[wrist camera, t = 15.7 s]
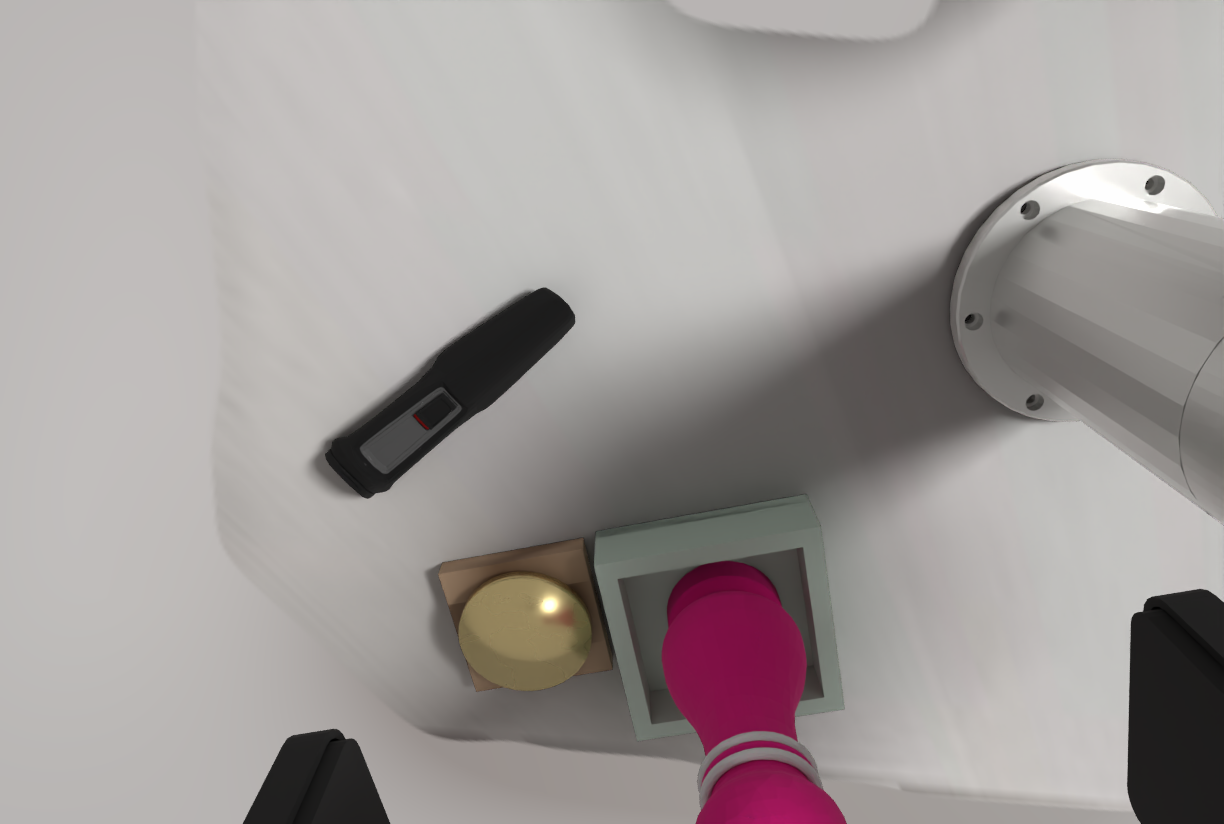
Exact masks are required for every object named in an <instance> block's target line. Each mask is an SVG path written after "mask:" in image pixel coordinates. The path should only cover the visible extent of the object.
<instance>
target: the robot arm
mask: <svg viewBox="0 0 1224 824" xmlns="http://www.w3.org/2000/svg"><path fill="white" fill-rule="evenodd" d="M1147 181H1148V184H1147V186H1146V187H1145V184H1146V182H1147ZM1024 203H1026V209H1025V211H1024V212H1022V213H1020V210H1021V207H1022V206H1023V204H1024ZM969 314H971V318H970V320H968V321H966V322H965V318H966V317H967V316H968V315H969ZM950 326H951V330H952V335H953V339H954V344H955V348H956V350H957V352H958V355H959V357H960V359H961V361H962V363H963V365H964V367H965V369H966V370H967V371H968V373H969V374H970V375H971V377H972V378H973V379H974V380H975V382H976V383H977V384H978V385H979V386H980V387H981V388H982V389H983V390H985V391H986V392H987V393H988V394H989V395H990V396H991V397H992V398H994V399H995V400H997V401H998V402H1000V403H1002V404H1003V405H1005V406H1006V407H1008V408H1009V409H1011V410H1013V411H1016V412H1018V413H1020V414H1023V415H1025V416H1028V417H1031V418H1037V419H1043V420H1048V421H1054V422H1064V421H1081V422H1083V423H1084V424H1086V425H1087V426H1088V427H1090V428H1091V429H1092V430H1094V431H1095V432H1096V433H1098V434H1099V435H1101V436H1102V437H1103V438H1105V439H1106V440H1107V441H1109V442H1110V443H1112V444H1113V445H1114V446H1116V447H1117V448H1118V449H1120V450H1121V451H1123V452H1124V453H1125V454H1127V455H1128V456H1129V457H1131V458H1132V459H1133V460H1135V461H1136V462H1138V463H1139V464H1140V465H1142V466H1143V467H1144V468H1146V469H1147V470H1149V471H1150V472H1151V473H1153V474H1154V475H1155V476H1157V477H1158V478H1160V479H1161V480H1162V481H1164V482H1165V483H1166V484H1168V485H1169V486H1170V487H1172V488H1173V489H1175V490H1176V491H1177V492H1179V493H1180V494H1181V495H1183V496H1184V497H1186V498H1187V499H1188V500H1190V501H1191V502H1192V503H1194V504H1195V505H1197V506H1198V507H1199V508H1201V509H1202V510H1203V511H1205V512H1206V513H1208V514H1209V515H1210V516H1212V517H1213V518H1214V519H1216V520H1217V521H1218V522H1220V523H1221V524H1222V525H1224V218H1222V217H1218V215H1217V214H1216V212H1215V211H1214V209H1213V207H1212V206H1211V204H1210V202H1209V201H1208V199H1207V198H1206V197H1205V196H1204V195H1203V194H1202V193H1201V192H1200V191H1199V190H1198V189H1197V188H1196V187H1195V186H1194V185H1192V184H1191V183H1190V182H1189V181H1187V180H1185V179H1184V178H1182V177H1180V176H1179V175H1177V174H1175V173H1174V172H1172V171H1170V170H1168V169H1165V168H1161V167H1158V166H1155V165H1152V164H1149V163H1145V162H1139V161H1132V160H1125V159H1095V160H1090V161H1085V162H1080V163H1075V164H1070V165H1067V166H1064V167H1062V168H1059V169H1057V170H1054V171H1052V172H1049V173H1047V174H1044V175H1042V176H1040V177H1039V178H1037V179H1035V180H1034V181H1032V182H1030V183H1029V184H1027V185H1025V186H1024V187H1022V188H1020V189H1019V190H1017V191H1016V192H1015V193H1014V194H1013V195H1011V196H1010V197H1009V198H1008V199H1007V200H1006V201H1004V202H1003V203H1002V204H1001V205H1000V206H998V207H997V208H996V209H995V210H994V212H993V213H992V214H991V215H990V216H989V218H988V219H987V220H986V221H985V222H984V223H983V225H982V226H981V227H980V228H979V229H978V231H977V232H976V234H975V236H974V237H973V239H972V241H971V243H970V244H969V246H968V248H967V249H966V251H965V253H964V255H963V257H962V260H961V263H960V265H959V268H958V271H957V273H956V276H955V279H954V285H953V290H952V295H951V301H950ZM1030 396H1031V397H1030ZM1029 397H1030V398H1029ZM1028 398H1029V399H1028ZM1027 399H1028V400H1027ZM1127 787H1128V795H1129V799H1130V802H1131V805H1132V808H1133V810H1134V812H1135V814H1136V816H1137V818H1138V820H1139V821H1140V823H1141V824H1224V602H1223V601H1221V600H1220V599H1219V598H1218V597H1217V596H1216V595H1214V594H1212V593H1211V592H1209V591H1208V590H1203V589H1197V590H1191V591H1185V592H1179V593H1173V594H1166V595H1160V596H1154V597H1151V598H1149V599H1147V601H1146V602H1145V604H1144V610H1143V612H1138V613H1135V614H1134V615H1133V617H1132V620H1131V642H1130V688H1129V733H1128V778H1127ZM243 824H390V822H389V819H388V817H387V814H386V812H385V809H384V807H383V804H382V802H381V799H380V797H379V794H378V792H377V789H376V787H375V784H374V782H373V779H372V777H371V774H370V772H369V769H368V767H367V764H366V762H365V759H364V757H363V754H362V752H361V749H360V747H359V745H358V743H357V742H356V741H355V740H354V739H345V737H344V736H343V734H342V733H341V732H340V731H339V730H337V729H330V730H324V731H317V732H311V733H305V734H299V735H293V736H291V737H289V738H288V739H287V740H286V741H285V743H284V744H283V746H282V748H281V750H280V752H279V754H278V756H277V758H276V760H275V762H274V764H273V765H272V767H271V770H270V771H269V773H268V775H267V777H266V779H265V781H264V783H263V785H262V787H261V789H260V791H259V793H258V795H257V797H256V799H255V801H254V803H253V805H252V807H251V808H250V810H249V812H248V814H247V817H246V819H245V820H244V822H243Z"/></svg>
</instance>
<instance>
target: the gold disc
mask: <svg viewBox="0 0 1224 824" xmlns="http://www.w3.org/2000/svg"><path fill="white" fill-rule="evenodd" d="M458 635H459V643H460V647H461V650H462V652H463V654H464V656H465V658H466V660H467V661H468V663H469V664H470V665H471V666H472V668H473V669H474V670H475V671H476V672H478V673H479V674H480V675H481V676H483V677H484V678H485V679H487V680H489V681H490V682H492V683H495V684H497V685H499V686H502V687H505V688H509V689H513V690H521V691H535V690H542V689H547V688H550V687H553V686H556V685H558V684H560V683H563V682H564V681H566V680H567V679H569V678H570V677H572V676H573V675H574V674H575V673H576V672H577V671H578V670H579V669H580V668H581V667H582V665H583V664H584V662H585V661H586V659H587V656H588V654H589V651H590V648H591V640H592V623H591V617H590V614H589V611H588V609H587V607H586V605H585V603H584V602H583V600H582V599H581V597H580V596H579V595H578V594H577V593H576V592H575V591H574V590H573V589H572V588H570V587H569V586H568V585H566V584H565V583H563V582H562V581H560V580H558V579H556V578H554V577H551V576H548V575H545V574H541V573H536V572H512V573H507V574H503V575H500V576H497V577H494V578H492V579H490V580H488V581H487V582H485V583H484V584H482V585H481V586H480V587H478V588H477V589H476V590H475V591H474V592H473V594H472V595H471V596H470V597H469V599H468V601H467V602H466V604H465V607H464V609H463V612H462V616H461V619H460V623H459V631H458Z"/></svg>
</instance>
